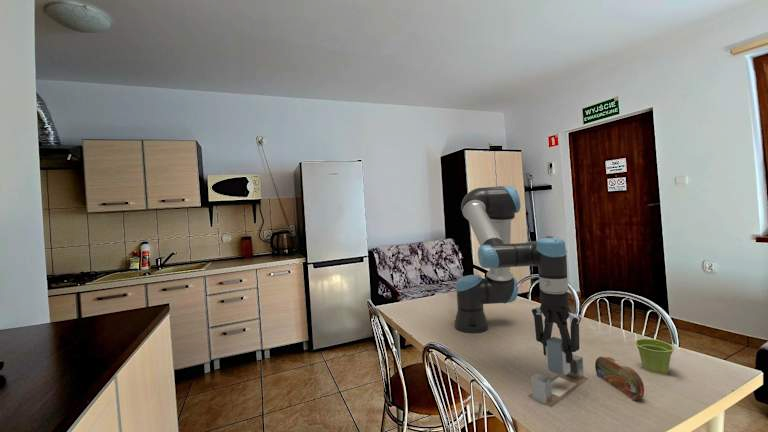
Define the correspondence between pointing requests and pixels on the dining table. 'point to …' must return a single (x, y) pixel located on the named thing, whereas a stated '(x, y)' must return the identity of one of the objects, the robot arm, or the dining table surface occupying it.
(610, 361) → the tin
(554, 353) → the block
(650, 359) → the plant pot
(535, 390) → the near end finger
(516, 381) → the dining table surface
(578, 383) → the brown flat board
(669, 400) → the dining table surface
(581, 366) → the far end finger
